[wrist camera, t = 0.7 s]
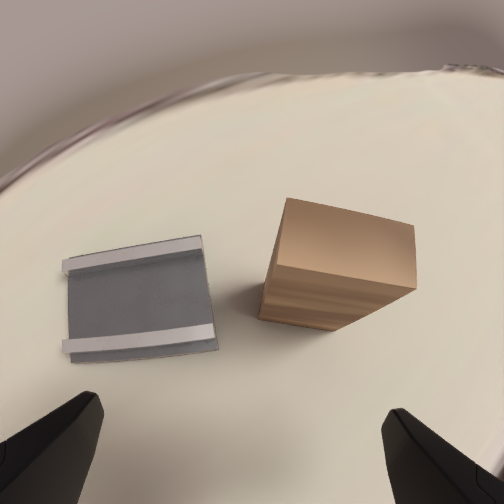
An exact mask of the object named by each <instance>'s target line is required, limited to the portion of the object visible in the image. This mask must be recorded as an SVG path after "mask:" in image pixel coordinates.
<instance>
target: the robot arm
mask: <svg viewBox="0 0 504 504" xmlns="http://www.w3.org/2000/svg"><path fill="white" fill-rule="evenodd" d="M103 418H104V410H103V407H102V404H101V402H100V399H99V396H98V395H97V394H96V393H93V392H90V391H84V392H82V393H80V394H79V395H77V396H76V397H74V398H73V399H71V400H70V401H68V402H66V403H65V404H63V405H62V406H60V407H58V408H57V409H55V410H54V411H52V412H50V413H49V414H47V415H46V416H44V417H42V418H41V419H39V420H38V421H36V422H34V423H33V424H31V425H30V426H28V427H26V428H25V429H23V430H21V431H20V432H18V433H16V434H15V435H13V436H12V437H10V438H8V439H7V441H6V440H5V441H3V442H1V443H0V504H77V503H78V500H79V497H80V494H81V491H82V488H83V485H84V482H85V479H86V476H87V474H88V471H89V468H90V465H91V463H92V460H93V457H94V454H95V450H96V446H97V442H98V437H99V433H100V429H101V426H102V422H103ZM381 433H382V439H383V445H384V452H385V459H386V466H387V471H388V475H389V479H390V483H391V487H392V491H393V495H394V499H395V503H396V504H504V481H502V480H500V479H499V478H497V477H495V476H494V475H492V474H491V473H489V472H488V471H486V470H485V469H483V468H482V467H481V466H479V465H478V464H476V463H475V462H474V461H472V460H471V459H470V458H468V457H467V456H465V455H464V454H463V453H461V452H460V451H459V450H457V449H456V448H455V447H453V446H452V445H451V444H449V443H448V442H447V441H445V440H444V439H443V438H441V437H440V436H439V435H438V434H436V433H435V432H434V431H432V430H431V429H430V428H428V427H427V426H426V425H424V424H423V423H422V422H421V421H419V420H418V419H417V418H415V417H414V416H413V415H412V414H410V413H409V412H408V411H406V410H405V409H403V408H397V409H392V410H390V411H389V413H388V415H387V417H386V419H385V421H384V423H383V425H382V428H381Z"/></svg>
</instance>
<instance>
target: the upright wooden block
mask: <svg viewBox="0 0 504 504" xmlns="http://www.w3.org/2000/svg"><path fill="white" fill-rule="evenodd" d="M415 289H417V270H416V247H415V233H414V225H410V224H406V223H402V222H398V221H394V220H390V219H386V218H382V217H377V216H373V215H369V214H364V213H360V212H356V211H351V210H347V209H342V208H337V207H333V206H328V205H323V204H318V203H313V202H308V201H303V200H298V199H292V198H287V199H286V203H285V207H284V211H283V214H282V218H281V222H280V226H279V230H278V234H277V238H276V242H275V245H274V249H273V253H272V257H271V261H270V264H269V268H268V272H267V276H266V279H265V284H264V290H263V295H262V301H261V307H260V312H259V318H258V319H259V320H265V321H271V322H276V323H283V324H289V325H295V326H301V327H308V328H315V329H322V330H329V331H336V330H338V329H340V328H342V327H344V326H346V325H349V324H351V323H353V322H355V321H357V320H359V319H361V318H363V317H365V316H367V315H369V314H371V313H373V312H375V311H377V310H379V309H380V308H382V307H384V306H386V305H388V304H390V303H392V302H394V301H395V300H397V299H399V298H401V297H403V296H405V295H406V294H408V293H410V292H412V291H414V290H415Z"/></svg>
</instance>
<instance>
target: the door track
mask: <svg viewBox="0 0 504 504" xmlns="http://www.w3.org/2000/svg"><path fill="white" fill-rule="evenodd" d="M62 272H63V273H64V274H66V275H67V276H68V320H69V339H67V340H62V349H63V353H68V354H71V363H98V362H114V361H128V360H140V359H150V358H160V357H169V356H178V355H186V354H193V353H201V352H208V351H215V350H219V348H218V343H217V337H216V331H215V325H214V318H213V312H212V306H211V299H210V293H209V286H208V279H207V272H206V265H205V258H204V250H203V243H202V238H201V235H196V236H190V237H184V238H178V239H172V240H166V241H160V242H154V243H148V244H142V245H136V246H131V247H125V248H119V249H114V250H108V251H103V252H97V253H92V254H86V255H81V256H76V257H71V258H69V259H66V260H62Z"/></svg>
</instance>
